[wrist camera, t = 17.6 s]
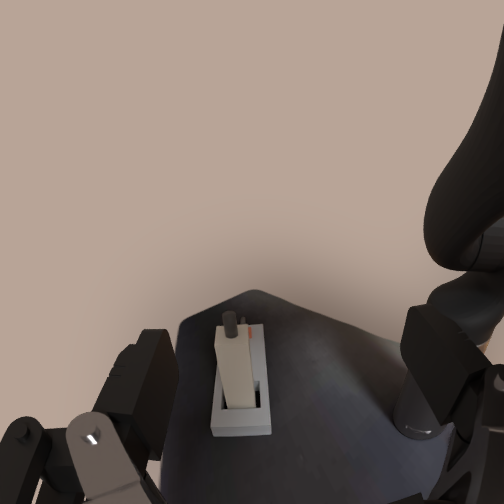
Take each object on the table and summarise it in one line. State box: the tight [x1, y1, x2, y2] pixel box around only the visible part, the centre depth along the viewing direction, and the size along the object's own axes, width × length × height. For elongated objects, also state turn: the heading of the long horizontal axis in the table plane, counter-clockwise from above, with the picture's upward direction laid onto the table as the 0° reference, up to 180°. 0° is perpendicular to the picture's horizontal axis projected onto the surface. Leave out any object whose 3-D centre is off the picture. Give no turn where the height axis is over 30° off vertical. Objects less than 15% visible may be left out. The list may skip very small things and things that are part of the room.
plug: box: [214, 311, 256, 409], centre depth 38 cm, size 4×4×17 cm
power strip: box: [211, 317, 271, 436], centre depth 48 cm, size 29×8×3 cm, turn 1°
